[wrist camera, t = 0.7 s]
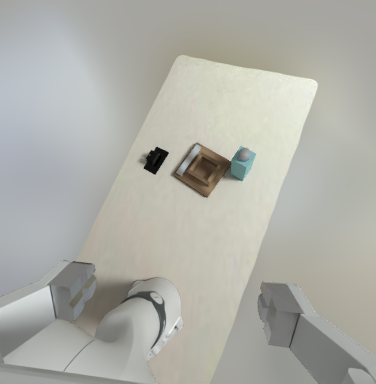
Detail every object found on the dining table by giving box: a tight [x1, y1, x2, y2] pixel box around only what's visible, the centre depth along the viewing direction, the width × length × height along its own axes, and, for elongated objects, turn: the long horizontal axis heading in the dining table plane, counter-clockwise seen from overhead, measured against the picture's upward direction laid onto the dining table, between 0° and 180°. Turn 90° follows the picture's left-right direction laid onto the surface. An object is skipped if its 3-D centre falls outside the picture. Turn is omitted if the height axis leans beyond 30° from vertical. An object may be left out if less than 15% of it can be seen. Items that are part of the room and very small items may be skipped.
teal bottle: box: [231, 146, 256, 181], centre depth 55 cm, size 4×4×14 cm
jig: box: [173, 143, 231, 198], centre depth 62 cm, size 14×14×4 cm
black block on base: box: [144, 147, 169, 174], centre depth 66 cm, size 12×7×5 cm, turn 149°
